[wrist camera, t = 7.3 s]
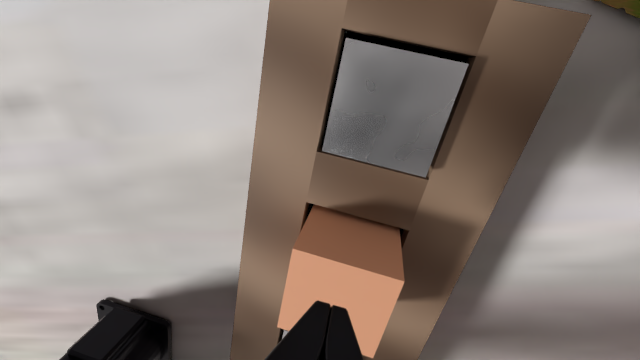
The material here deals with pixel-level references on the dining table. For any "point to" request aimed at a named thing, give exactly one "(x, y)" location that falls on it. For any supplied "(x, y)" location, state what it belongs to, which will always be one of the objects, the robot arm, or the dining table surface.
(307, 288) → the orange cube
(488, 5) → the console
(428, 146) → the grey block
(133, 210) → the dining table surface
